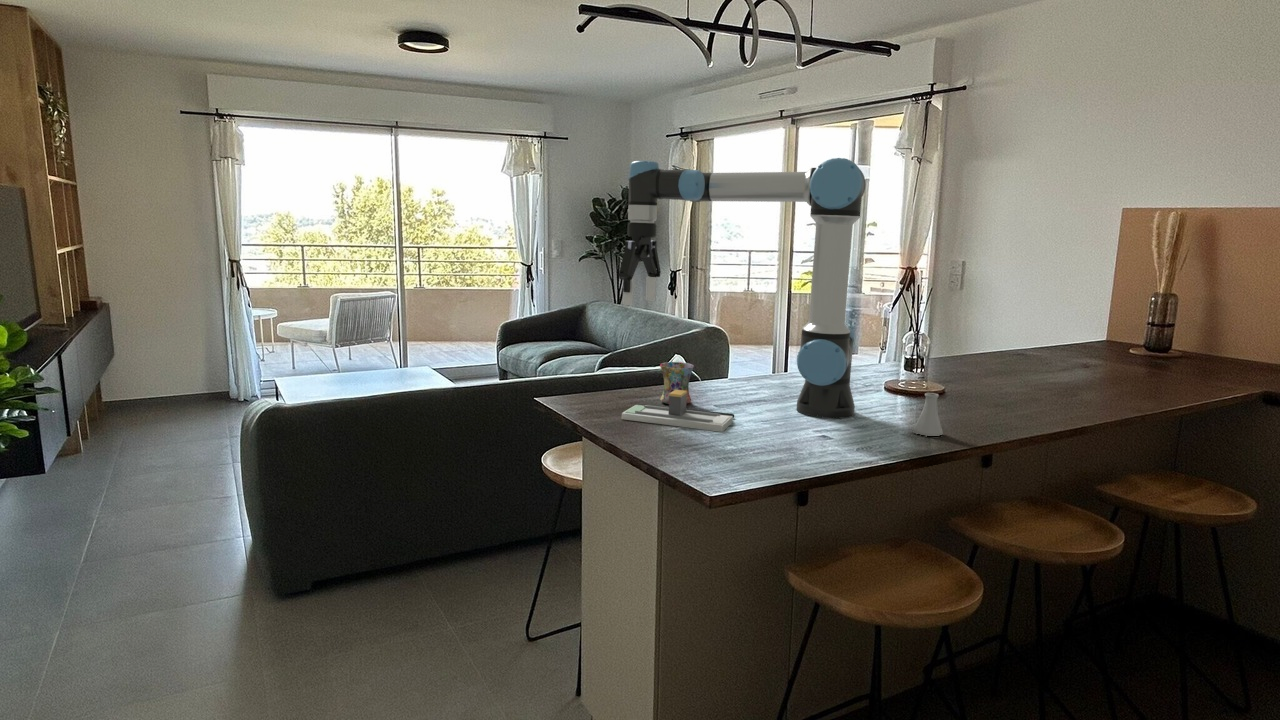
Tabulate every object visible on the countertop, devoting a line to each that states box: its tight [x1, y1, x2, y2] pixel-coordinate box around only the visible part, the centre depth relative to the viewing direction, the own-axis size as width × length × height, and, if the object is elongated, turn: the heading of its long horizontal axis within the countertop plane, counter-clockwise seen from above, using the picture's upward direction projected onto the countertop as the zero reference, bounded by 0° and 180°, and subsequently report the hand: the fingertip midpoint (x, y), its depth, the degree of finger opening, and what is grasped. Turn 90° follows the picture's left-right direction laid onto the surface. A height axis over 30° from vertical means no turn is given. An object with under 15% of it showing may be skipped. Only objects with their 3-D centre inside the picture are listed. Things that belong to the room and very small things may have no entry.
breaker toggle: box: [668, 390, 687, 416], centre depth 192 cm, size 3×5×6 cm, turn 160°
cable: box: [657, 405, 735, 419], centre depth 199 cm, size 23×1×1 cm, turn 73°
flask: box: [912, 392, 944, 437], centre depth 186 cm, size 7×7×10 cm
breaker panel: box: [621, 404, 734, 433], centre depth 192 cm, size 26×10×2 cm, turn 69°
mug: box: [659, 361, 695, 405], centre depth 212 cm, size 12×9×11 cm
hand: (639, 303), depth 205 cm, fingers open, 13 cm apart
